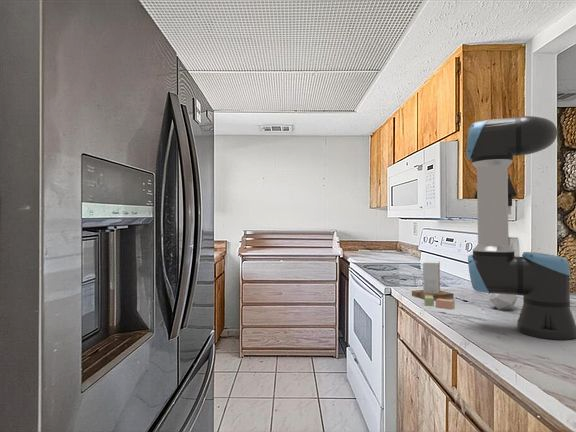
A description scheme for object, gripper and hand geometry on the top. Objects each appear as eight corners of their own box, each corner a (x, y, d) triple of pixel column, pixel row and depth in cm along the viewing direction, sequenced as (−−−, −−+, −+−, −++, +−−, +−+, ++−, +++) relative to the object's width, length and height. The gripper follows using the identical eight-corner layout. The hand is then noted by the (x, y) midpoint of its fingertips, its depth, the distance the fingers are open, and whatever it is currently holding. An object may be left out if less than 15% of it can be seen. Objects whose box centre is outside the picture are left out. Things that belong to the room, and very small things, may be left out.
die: (515, 314, 144) (524, 291, 147) (493, 301, 145) (502, 279, 148) (504, 317, 151) (512, 294, 154) (482, 305, 153) (491, 283, 156)
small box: (439, 294, 168) (438, 263, 168) (423, 293, 170) (422, 262, 170) (440, 290, 175) (439, 260, 175) (424, 290, 178) (424, 260, 178)
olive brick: (433, 306, 156) (433, 298, 156) (425, 306, 157) (425, 298, 157) (432, 303, 162) (432, 295, 162) (424, 302, 162) (424, 295, 162)
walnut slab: (453, 298, 168) (453, 293, 168) (428, 300, 165) (428, 295, 165) (435, 293, 180) (435, 288, 180) (411, 295, 176) (411, 290, 176)
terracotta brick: (454, 308, 152) (454, 300, 152) (451, 309, 150) (451, 301, 150) (438, 306, 156) (438, 298, 156) (435, 307, 154) (435, 299, 154)
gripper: (526, 160, 159) (527, 214, 159) (479, 167, 183) (479, 214, 183) (511, 159, 157) (511, 214, 157) (465, 167, 181) (466, 214, 181)
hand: (494, 214), depth 170 cm, fingers open, 13 cm apart
